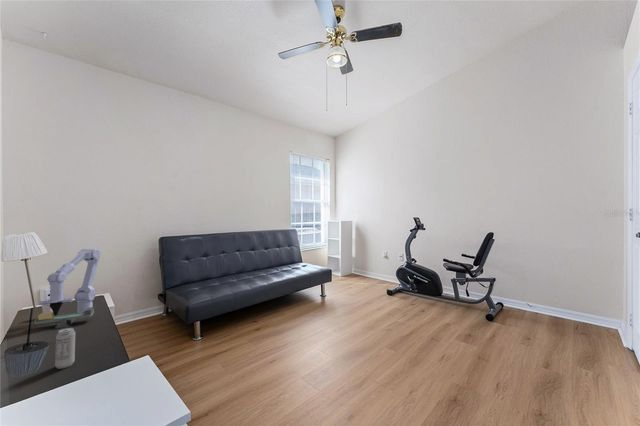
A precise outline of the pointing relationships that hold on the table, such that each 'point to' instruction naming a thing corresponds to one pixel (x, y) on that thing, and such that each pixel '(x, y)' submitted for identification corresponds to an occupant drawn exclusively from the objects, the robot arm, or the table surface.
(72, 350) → the energy drink can
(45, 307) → the smoothie
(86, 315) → the beam
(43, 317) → the block
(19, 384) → the table surface
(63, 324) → the pivot stand
